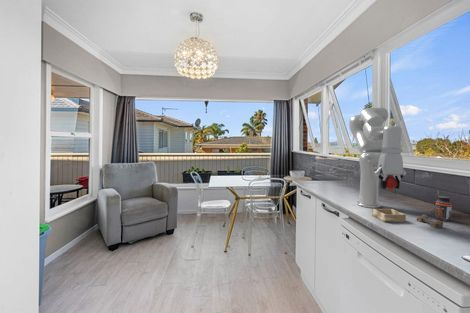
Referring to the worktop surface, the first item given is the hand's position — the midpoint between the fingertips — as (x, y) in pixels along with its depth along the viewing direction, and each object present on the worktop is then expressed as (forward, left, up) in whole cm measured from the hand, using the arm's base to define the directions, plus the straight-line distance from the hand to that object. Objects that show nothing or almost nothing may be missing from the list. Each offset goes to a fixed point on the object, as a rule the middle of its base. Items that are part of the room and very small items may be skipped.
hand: (389, 188), depth 119 cm
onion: (0, 0, -1) cm, 1 cm away
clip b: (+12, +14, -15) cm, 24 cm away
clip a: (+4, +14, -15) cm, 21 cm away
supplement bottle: (+2, +26, -16) cm, 30 cm away
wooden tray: (0, 0, -15) cm, 15 cm away
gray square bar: (+8, +14, -15) cm, 22 cm away
